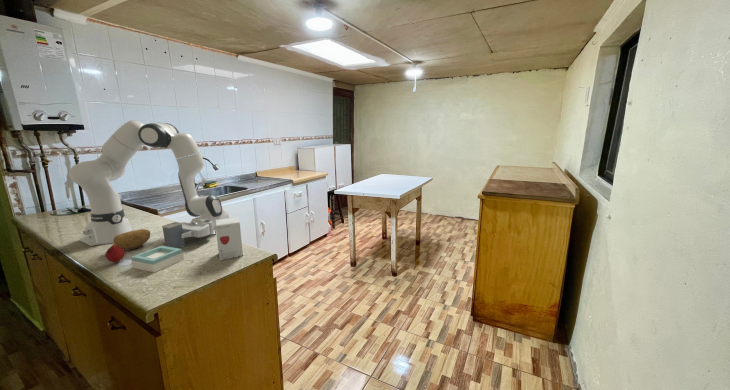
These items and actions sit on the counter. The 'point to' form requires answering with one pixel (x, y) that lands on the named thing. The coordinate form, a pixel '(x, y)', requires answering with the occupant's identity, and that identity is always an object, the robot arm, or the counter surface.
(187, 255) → the counter surface
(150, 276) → the counter surface
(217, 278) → the counter surface
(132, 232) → the potato
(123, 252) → the onion
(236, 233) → the supplement box
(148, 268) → the display stand
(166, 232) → the blue-grey box
